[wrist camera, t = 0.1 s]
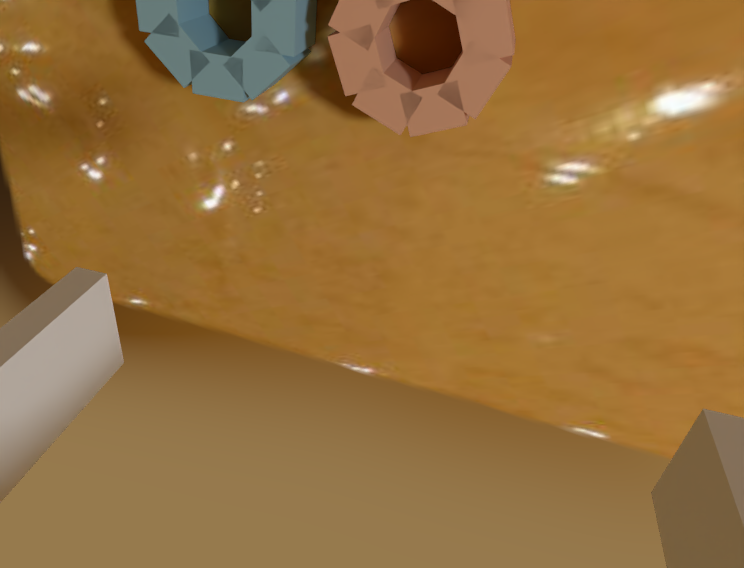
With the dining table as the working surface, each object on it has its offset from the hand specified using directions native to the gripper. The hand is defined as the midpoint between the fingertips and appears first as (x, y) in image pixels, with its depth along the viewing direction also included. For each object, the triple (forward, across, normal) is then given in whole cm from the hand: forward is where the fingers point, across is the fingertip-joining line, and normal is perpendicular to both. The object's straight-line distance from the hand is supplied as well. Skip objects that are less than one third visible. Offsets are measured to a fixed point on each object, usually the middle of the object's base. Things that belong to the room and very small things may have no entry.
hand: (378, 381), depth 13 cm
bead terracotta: (+28, -3, +2) cm, 28 cm away
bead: (+28, -15, +2) cm, 32 cm away
